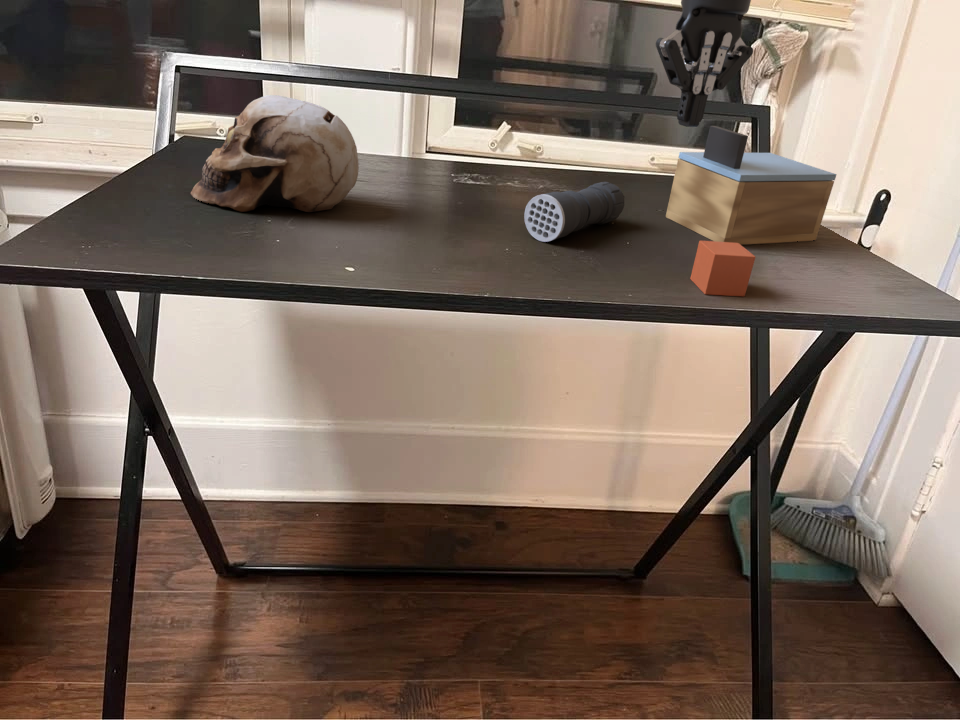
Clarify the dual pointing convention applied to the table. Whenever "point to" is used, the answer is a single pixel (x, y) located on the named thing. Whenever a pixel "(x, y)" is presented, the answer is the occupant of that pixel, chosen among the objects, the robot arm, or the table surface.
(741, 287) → the block
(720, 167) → the sliding lid
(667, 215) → the oak box
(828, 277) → the table surface
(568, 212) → the flashlight
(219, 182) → the beige skull model
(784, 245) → the table surface
